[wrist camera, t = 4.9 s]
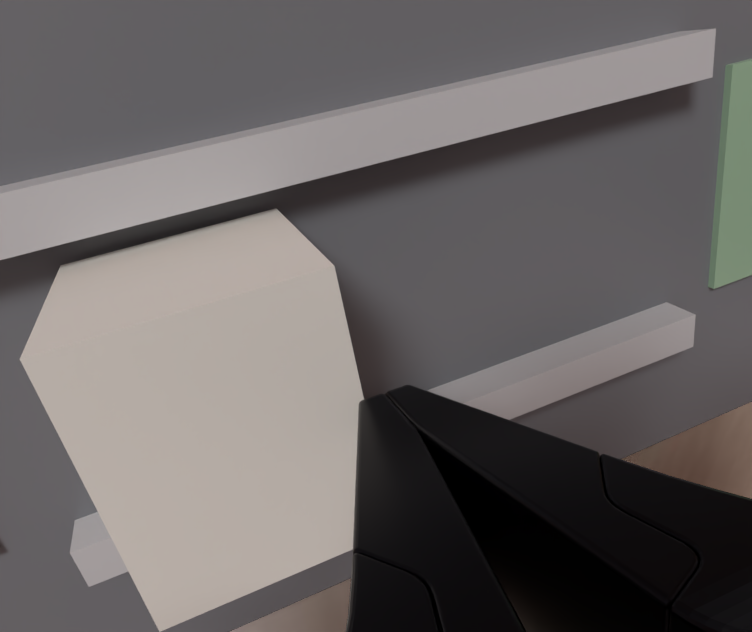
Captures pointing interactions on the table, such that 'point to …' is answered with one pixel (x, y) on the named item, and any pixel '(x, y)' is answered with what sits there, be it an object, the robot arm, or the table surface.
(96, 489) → the switch knob
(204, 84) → the slider switch base
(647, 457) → the table surface
